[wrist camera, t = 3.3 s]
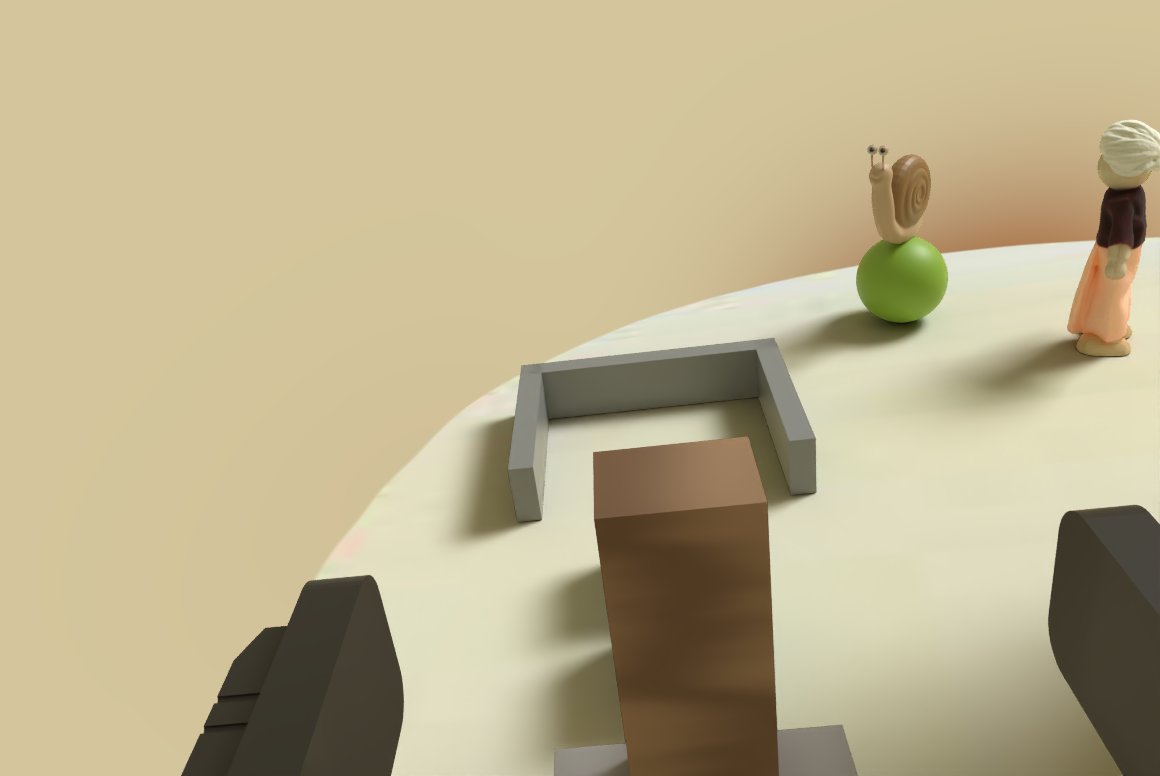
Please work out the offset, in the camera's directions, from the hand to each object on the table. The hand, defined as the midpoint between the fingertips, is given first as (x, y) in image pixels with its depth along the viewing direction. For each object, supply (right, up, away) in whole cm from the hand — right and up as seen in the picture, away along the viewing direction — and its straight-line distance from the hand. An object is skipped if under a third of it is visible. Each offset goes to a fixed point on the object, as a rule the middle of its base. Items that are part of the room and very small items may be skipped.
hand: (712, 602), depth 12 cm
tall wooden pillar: (+2, -12, +19) cm, 22 cm away
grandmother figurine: (+28, +5, +45) cm, 53 cm away
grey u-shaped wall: (+3, -1, +40) cm, 40 cm away
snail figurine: (+18, +7, +51) cm, 54 cm away
